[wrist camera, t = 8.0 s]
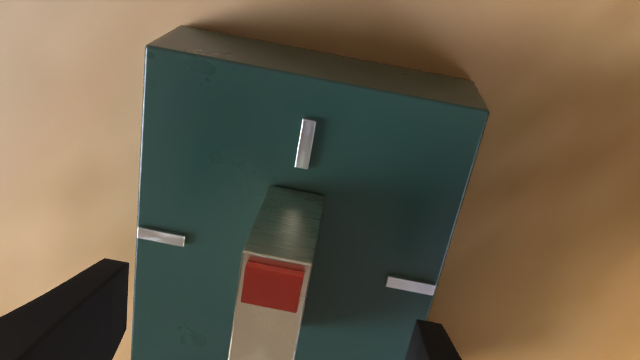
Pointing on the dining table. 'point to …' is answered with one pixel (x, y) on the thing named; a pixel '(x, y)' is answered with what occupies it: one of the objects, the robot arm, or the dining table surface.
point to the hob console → (297, 174)
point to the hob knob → (275, 276)
